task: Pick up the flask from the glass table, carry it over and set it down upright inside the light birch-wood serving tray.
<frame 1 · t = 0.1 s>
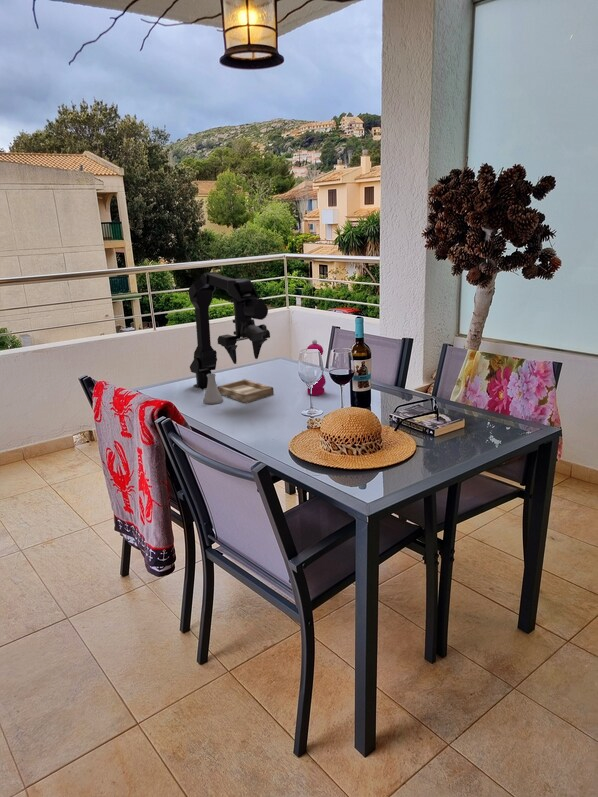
hand: (245, 361, 194), 15 cm above the table, tool pointing down, fingers open, 9 cm apart
pepper mill: (316, 393, 205), on the table
flask: (213, 402, 200), on the table
serving tray: (245, 394, 206), on the table
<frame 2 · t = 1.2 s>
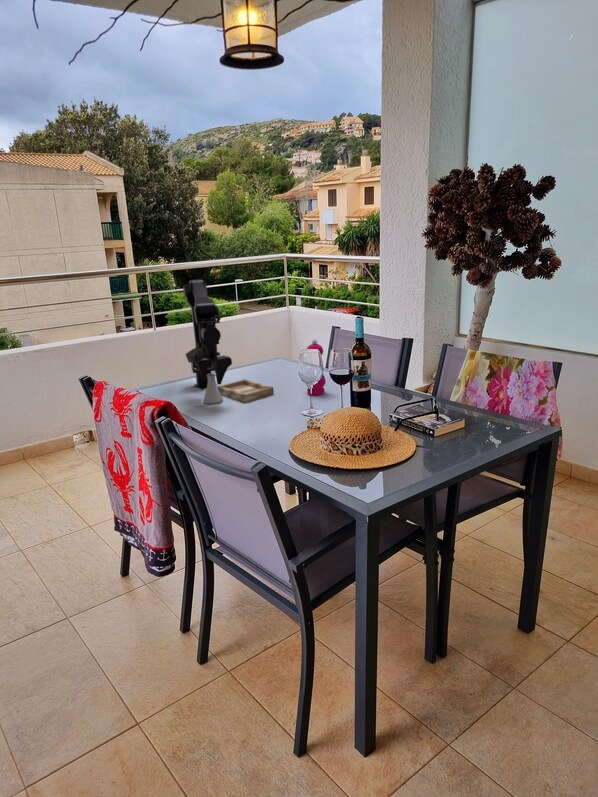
hand: (211, 381, 197), 7 cm above the table, tool pointing down, fingers open, 9 cm apart
nothing on the table moved.
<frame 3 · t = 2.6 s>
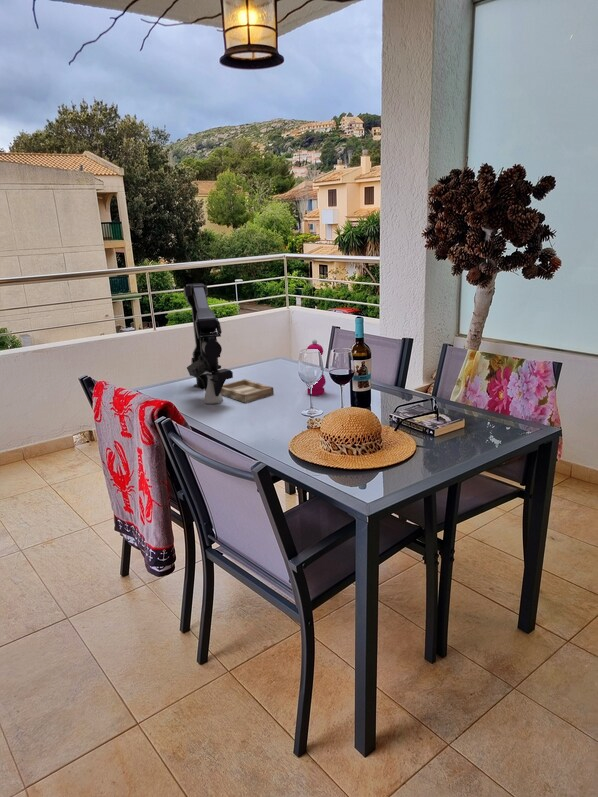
hand: (212, 394, 199), 3 cm above the table, tool pointing down, fingers closed on flask, 5 cm apart
flask: (213, 401, 200), on the table, touching gripper
everything else where it was.
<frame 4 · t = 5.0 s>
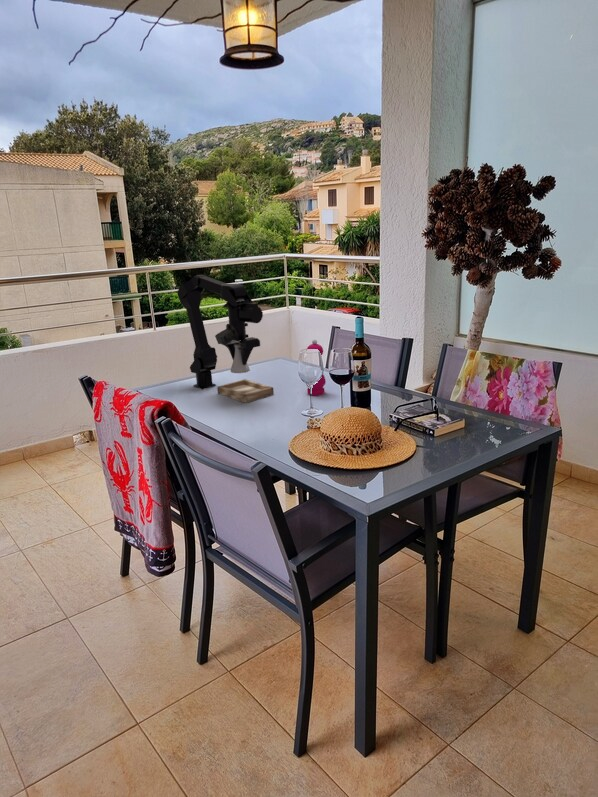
hand: (239, 363, 202), 12 cm above the table, tool pointing down, fingers closed on flask, 5 cm apart
flask: (240, 371, 203), point 9 cm above the table, touching gripper
everything else where it was.
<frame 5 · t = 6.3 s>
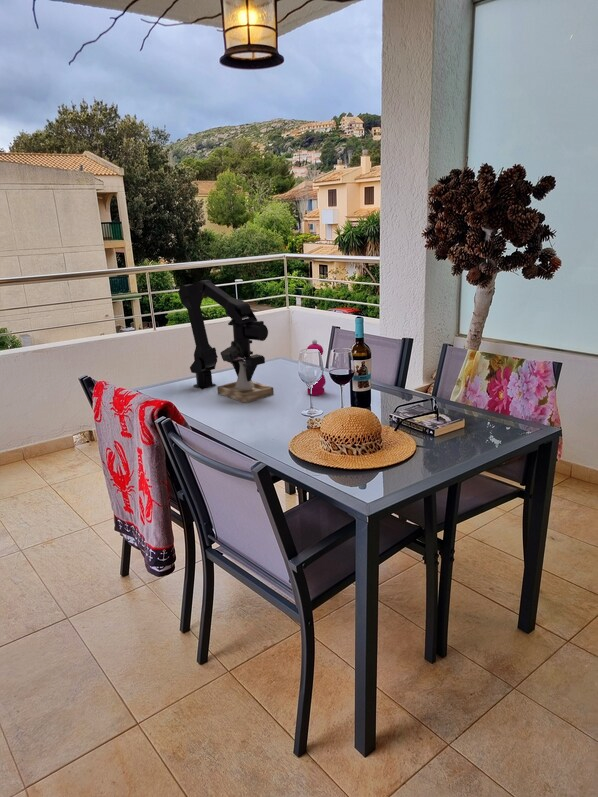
hand: (244, 379, 205), 6 cm above the table, tool pointing down, fingers closed on flask, 5 cm apart
flask: (244, 388, 206), point 2 cm above the table, touching gripper
everything else where it was.
when the fingers open (5 cm above the table, at t = 7.2 s): flask stays where it is, resting on serving tray.
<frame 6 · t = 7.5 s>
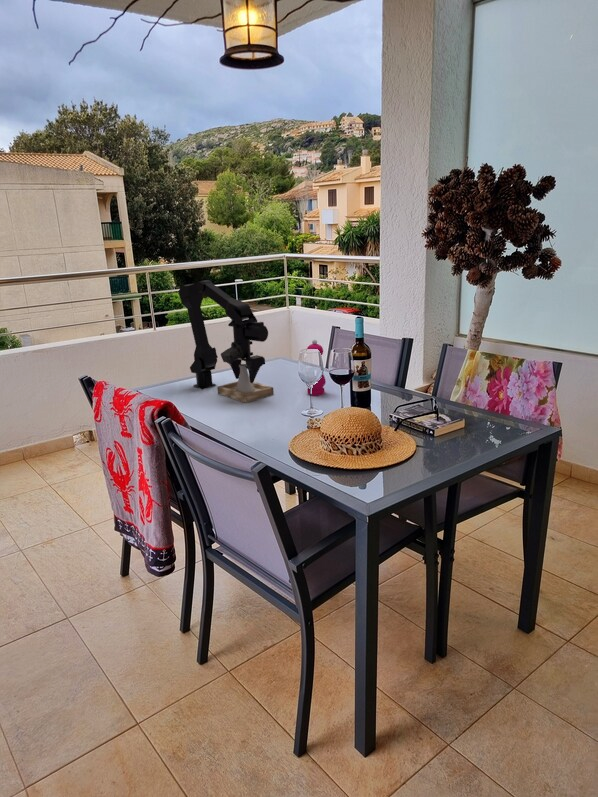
hand: (244, 380, 205), 5 cm above the table, tool pointing down, fingers open, 8 cm apart
flask: (245, 391, 206), point 1 cm above the table, touching serving tray
everything else where it was.
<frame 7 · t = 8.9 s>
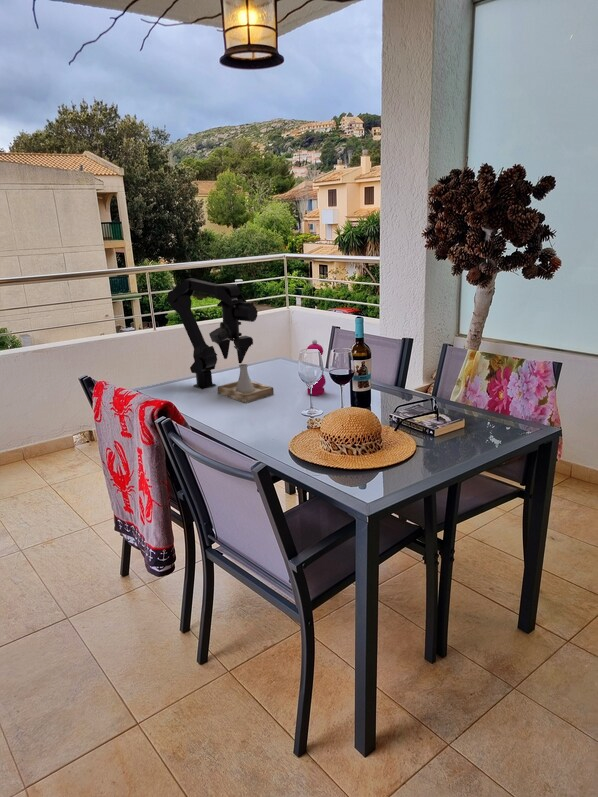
hand: (232, 361, 207), 12 cm above the table, tool pointing down, fingers open, 9 cm apart
nothing on the table moved.
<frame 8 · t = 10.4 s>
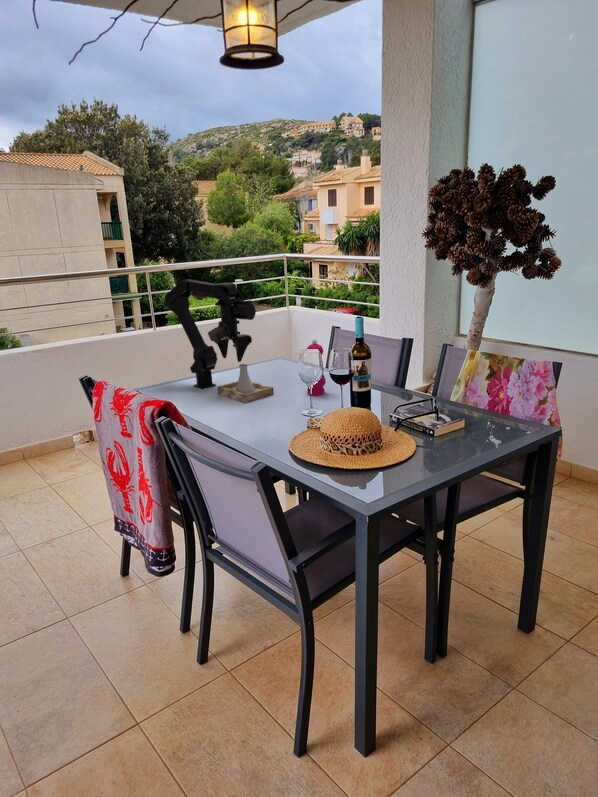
hand: (232, 359, 208), 12 cm above the table, tool pointing down, fingers open, 9 cm apart
nothing on the table moved.
at the end: flask inside the target area on the serving tray (0.1 cm from its centre), point 1.0 cm above the serving tray's base; flask tilted 0°; the gripper is holding nothing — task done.
